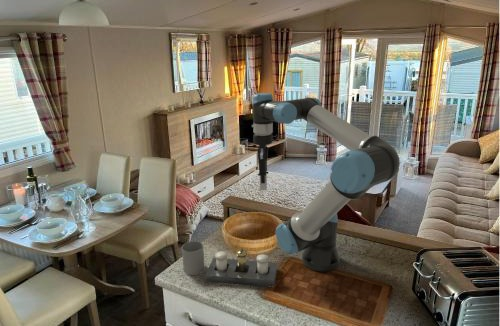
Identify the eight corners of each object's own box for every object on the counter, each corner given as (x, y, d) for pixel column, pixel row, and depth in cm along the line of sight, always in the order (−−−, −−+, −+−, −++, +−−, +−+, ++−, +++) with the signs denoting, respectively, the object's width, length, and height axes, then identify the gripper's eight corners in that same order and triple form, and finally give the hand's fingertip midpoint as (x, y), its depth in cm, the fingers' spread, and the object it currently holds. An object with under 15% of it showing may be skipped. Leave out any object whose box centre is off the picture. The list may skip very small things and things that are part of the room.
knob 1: (229, 269, 146) (228, 251, 144) (226, 276, 142) (225, 258, 140) (217, 268, 147) (216, 251, 145) (214, 275, 143) (213, 257, 140)
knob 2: (269, 272, 144) (269, 254, 141) (268, 279, 139) (268, 261, 137) (257, 272, 145) (257, 253, 142) (256, 279, 140) (255, 260, 138)
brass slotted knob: (248, 265, 144) (247, 248, 142) (246, 271, 140) (245, 254, 138) (238, 264, 145) (237, 247, 142) (235, 270, 141) (235, 253, 139)
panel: (277, 269, 147) (277, 262, 146) (274, 287, 136) (274, 280, 135) (213, 264, 151) (213, 257, 150) (205, 282, 140) (205, 275, 139)
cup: (200, 275, 144) (198, 253, 141) (180, 273, 145) (178, 251, 142) (207, 263, 152) (205, 242, 149) (188, 262, 153) (186, 240, 150)
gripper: (255, 129, 152) (256, 183, 159) (251, 137, 139) (252, 195, 146) (273, 129, 151) (273, 184, 158) (271, 137, 138) (271, 196, 145)
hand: (263, 189), depth 152 cm, fingers closed
